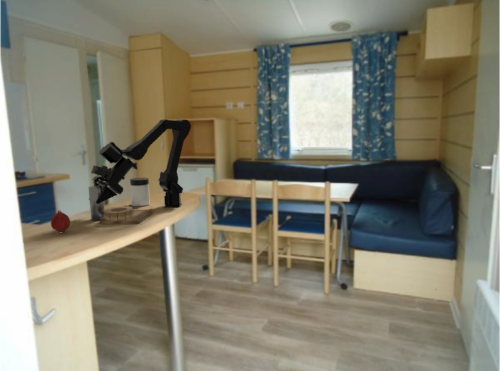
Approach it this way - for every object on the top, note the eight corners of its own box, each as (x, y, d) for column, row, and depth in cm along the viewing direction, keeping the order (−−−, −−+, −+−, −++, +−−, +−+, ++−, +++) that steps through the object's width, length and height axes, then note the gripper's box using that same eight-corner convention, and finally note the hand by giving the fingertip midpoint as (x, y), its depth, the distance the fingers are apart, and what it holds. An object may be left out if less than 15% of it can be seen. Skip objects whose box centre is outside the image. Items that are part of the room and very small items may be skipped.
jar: (135, 207, 159) (134, 180, 157) (127, 204, 165) (126, 178, 163) (154, 204, 165) (152, 178, 163) (145, 201, 171) (144, 176, 169)
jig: (151, 212, 150) (151, 202, 149) (139, 223, 132) (138, 212, 131) (117, 212, 149) (116, 202, 149) (100, 224, 132) (99, 213, 131)
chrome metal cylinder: (107, 217, 142) (104, 185, 140) (102, 220, 137) (99, 187, 135) (94, 217, 142) (91, 185, 140) (89, 220, 137) (86, 187, 135)
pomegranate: (75, 231, 123) (72, 208, 122) (61, 236, 118) (59, 212, 117) (62, 229, 125) (59, 207, 124) (48, 234, 120) (45, 211, 118)
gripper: (95, 156, 145) (68, 186, 139) (112, 159, 131) (83, 192, 126) (116, 173, 151) (91, 202, 146) (134, 178, 137) (107, 210, 132)
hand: (93, 201), depth 137 cm, fingers open, 8 cm apart
